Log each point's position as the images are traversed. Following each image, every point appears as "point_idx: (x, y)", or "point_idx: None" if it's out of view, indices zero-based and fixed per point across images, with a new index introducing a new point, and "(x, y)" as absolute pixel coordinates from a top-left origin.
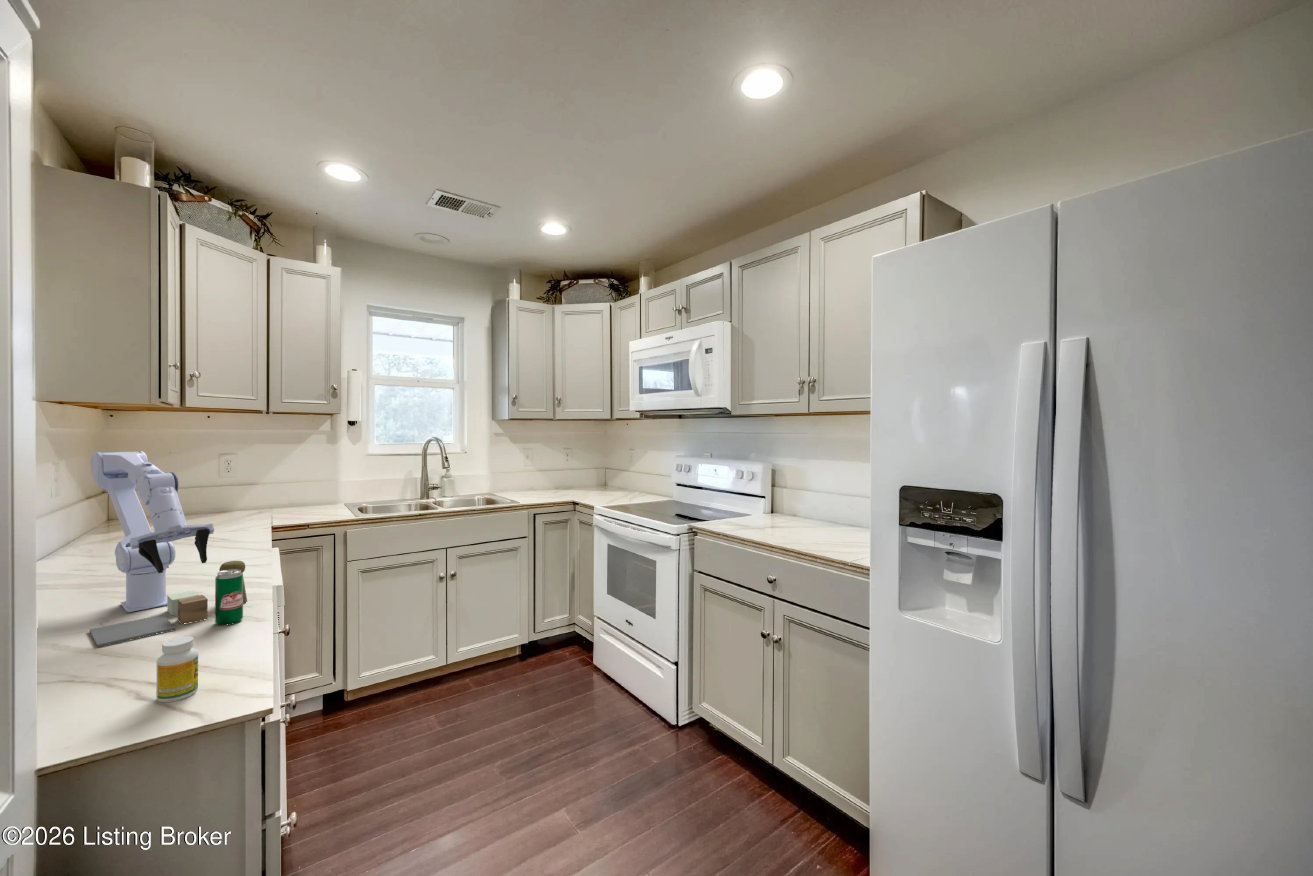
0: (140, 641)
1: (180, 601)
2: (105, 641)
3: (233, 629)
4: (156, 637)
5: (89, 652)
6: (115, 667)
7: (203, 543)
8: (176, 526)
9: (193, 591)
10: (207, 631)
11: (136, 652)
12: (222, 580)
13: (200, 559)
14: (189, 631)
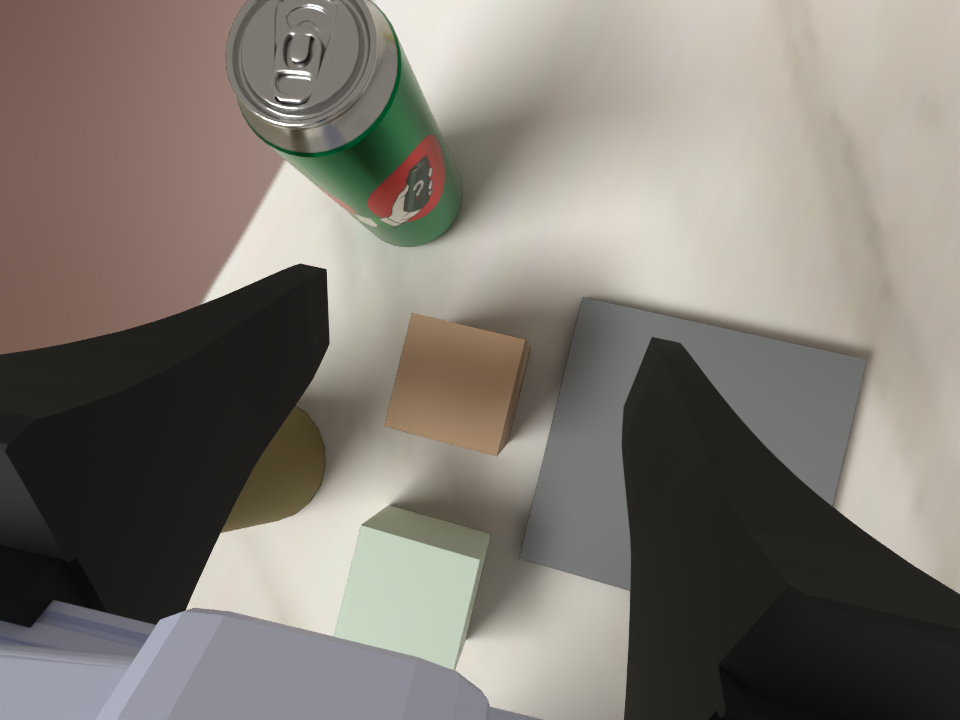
0: (725, 279)
1: (508, 399)
2: (829, 376)
3: (453, 84)
4: (666, 272)
5: (899, 326)
6: (910, 36)
7: (182, 328)
8: (301, 645)
9: (342, 626)
10: (519, 156)
11: (792, 147)
12: (388, 23)
13: (307, 386)
14: (557, 226)
